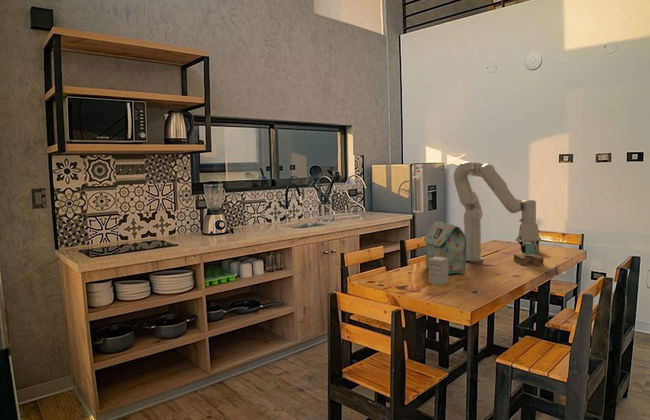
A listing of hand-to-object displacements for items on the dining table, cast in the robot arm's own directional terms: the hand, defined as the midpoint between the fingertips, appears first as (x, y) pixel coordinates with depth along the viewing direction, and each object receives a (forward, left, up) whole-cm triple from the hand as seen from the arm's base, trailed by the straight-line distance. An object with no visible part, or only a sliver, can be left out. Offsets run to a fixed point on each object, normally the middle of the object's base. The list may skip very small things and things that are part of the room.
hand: (528, 251), depth 267 cm
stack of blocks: (+17, +36, -7) cm, 40 cm away
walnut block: (0, 0, -7) cm, 7 cm away
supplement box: (-62, -39, -7) cm, 74 cm away
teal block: (0, 0, -1) cm, 1 cm away
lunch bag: (-52, -13, -7) cm, 54 cm away
